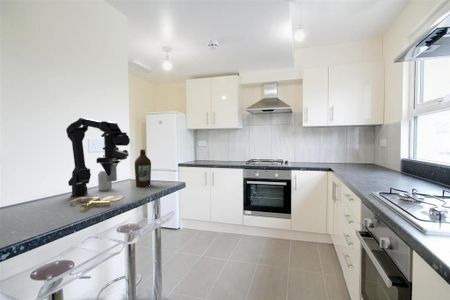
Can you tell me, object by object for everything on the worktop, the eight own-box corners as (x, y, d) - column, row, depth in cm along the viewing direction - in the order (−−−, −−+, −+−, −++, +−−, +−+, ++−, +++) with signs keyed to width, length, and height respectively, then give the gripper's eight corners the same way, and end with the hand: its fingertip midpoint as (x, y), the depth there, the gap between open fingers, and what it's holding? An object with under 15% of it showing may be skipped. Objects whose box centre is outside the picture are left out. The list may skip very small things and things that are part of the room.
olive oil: (133, 185, 154) (133, 149, 152) (149, 183, 159) (148, 149, 158) (136, 188, 145) (135, 150, 143) (153, 186, 150) (152, 149, 149)
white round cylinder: (104, 181, 115) (104, 164, 115) (108, 179, 120) (108, 163, 120) (114, 181, 116) (113, 164, 115) (118, 179, 121) (117, 163, 120)
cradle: (70, 205, 107) (69, 201, 107) (78, 201, 115) (78, 197, 115) (93, 204, 108) (93, 200, 108) (101, 200, 116) (101, 196, 115)
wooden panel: (99, 201, 114) (99, 200, 114) (107, 196, 123) (107, 196, 123) (117, 201, 115) (117, 200, 115) (124, 196, 124) (124, 195, 124)
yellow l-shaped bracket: (79, 211, 98) (79, 205, 98) (89, 205, 107) (89, 199, 107) (101, 210, 99) (101, 204, 99) (109, 205, 108) (109, 199, 108)
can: (96, 191, 137) (96, 171, 136) (100, 188, 144) (99, 170, 143) (110, 190, 139) (109, 171, 138) (113, 188, 146) (112, 169, 145)
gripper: (119, 146, 108) (119, 177, 109) (132, 145, 127) (132, 172, 128) (95, 146, 108) (96, 178, 108) (112, 145, 126) (112, 172, 127)
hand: (111, 174), depth 118 cm, fingers closed on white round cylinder, 5 cm apart
